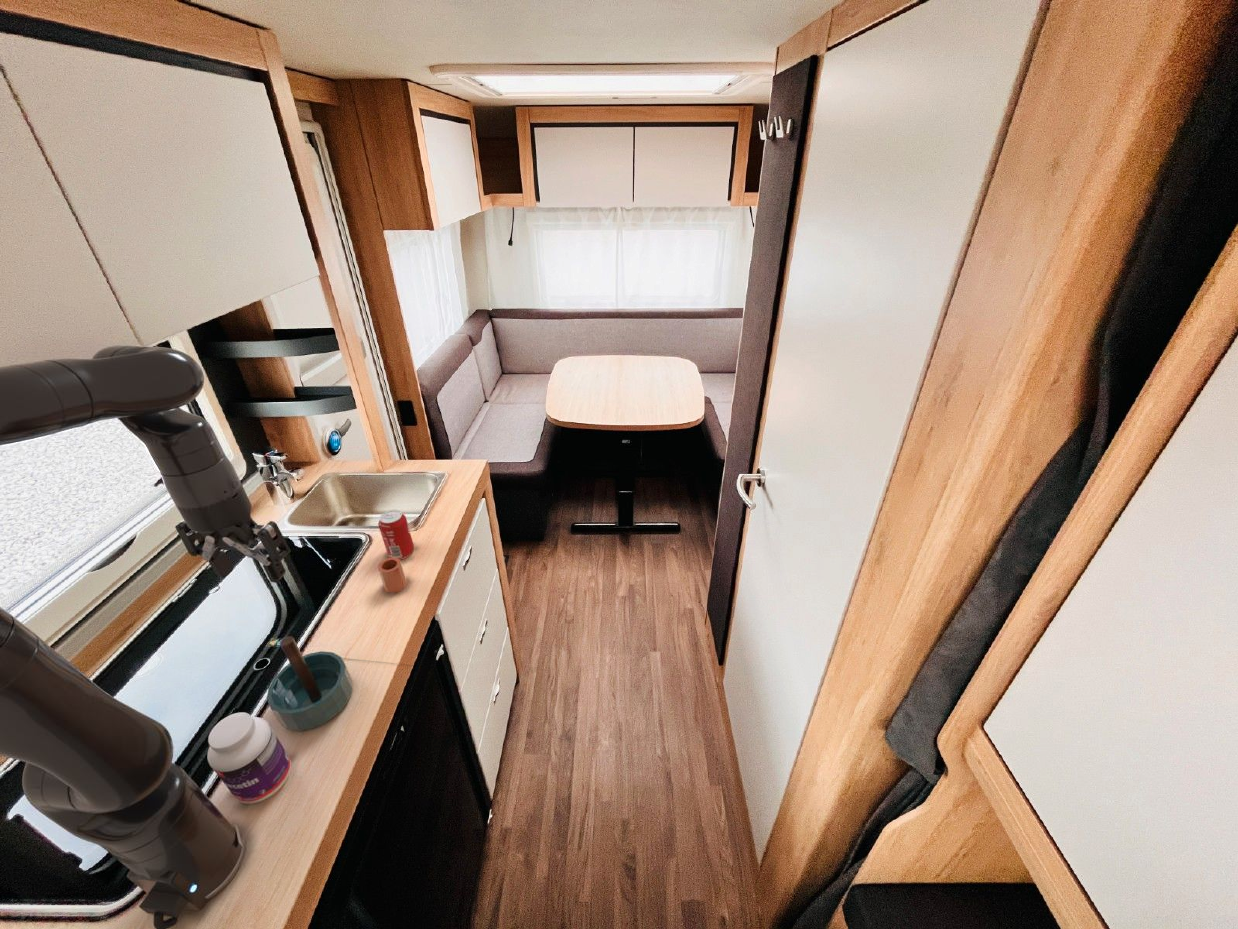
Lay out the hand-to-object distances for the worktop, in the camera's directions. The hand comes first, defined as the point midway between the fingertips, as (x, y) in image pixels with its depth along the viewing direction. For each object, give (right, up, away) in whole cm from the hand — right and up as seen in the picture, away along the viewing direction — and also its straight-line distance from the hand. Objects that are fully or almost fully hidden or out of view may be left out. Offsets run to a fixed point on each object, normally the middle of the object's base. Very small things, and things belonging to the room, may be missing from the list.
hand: (252, 576), depth 78 cm
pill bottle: (-2, -35, +5) cm, 35 cm away
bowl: (0, -27, +17) cm, 32 cm away
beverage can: (+1, -6, +51) cm, 51 cm away
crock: (+4, -11, +41) cm, 43 cm away
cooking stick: (0, -26, +17) cm, 31 cm away
